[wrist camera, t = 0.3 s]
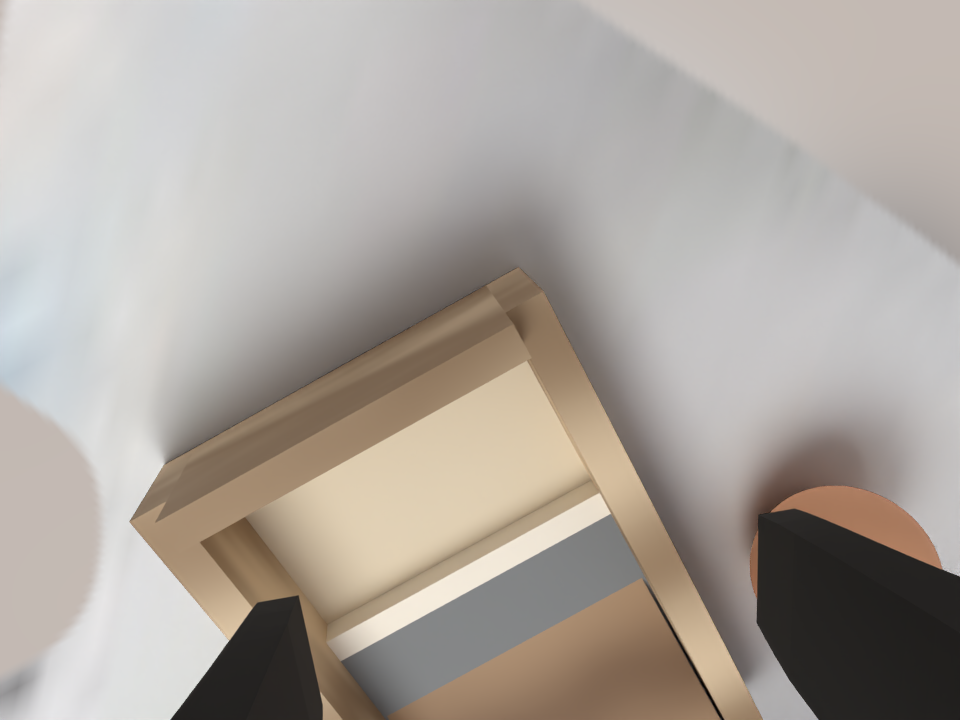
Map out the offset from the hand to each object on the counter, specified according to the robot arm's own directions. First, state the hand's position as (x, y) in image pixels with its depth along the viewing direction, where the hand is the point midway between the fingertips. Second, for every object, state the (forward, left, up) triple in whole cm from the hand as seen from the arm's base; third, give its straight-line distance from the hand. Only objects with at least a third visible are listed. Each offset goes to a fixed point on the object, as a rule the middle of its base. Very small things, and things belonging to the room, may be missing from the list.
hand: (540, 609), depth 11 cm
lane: (-6, +3, -10) cm, 12 cm away
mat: (-6, +3, -10) cm, 12 cm away
